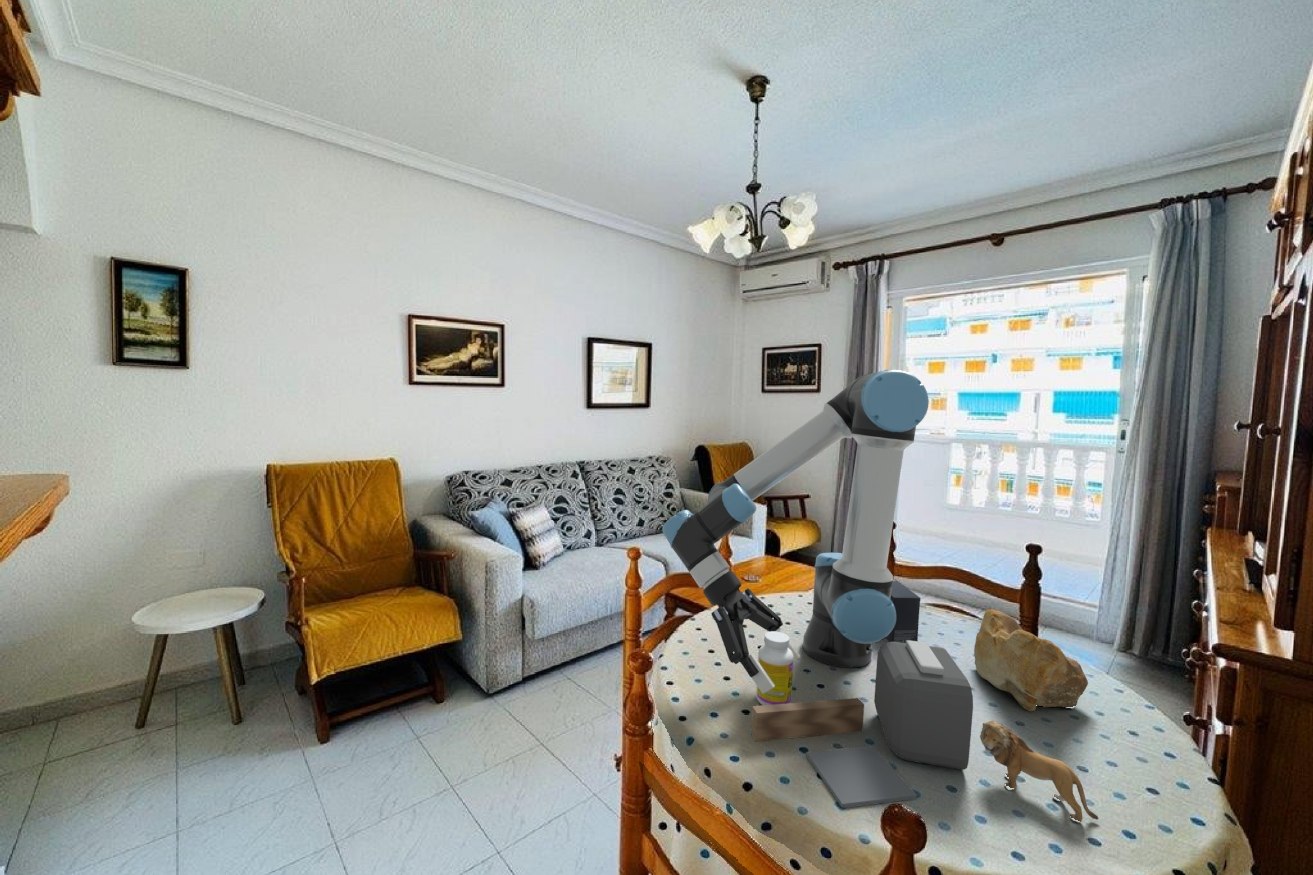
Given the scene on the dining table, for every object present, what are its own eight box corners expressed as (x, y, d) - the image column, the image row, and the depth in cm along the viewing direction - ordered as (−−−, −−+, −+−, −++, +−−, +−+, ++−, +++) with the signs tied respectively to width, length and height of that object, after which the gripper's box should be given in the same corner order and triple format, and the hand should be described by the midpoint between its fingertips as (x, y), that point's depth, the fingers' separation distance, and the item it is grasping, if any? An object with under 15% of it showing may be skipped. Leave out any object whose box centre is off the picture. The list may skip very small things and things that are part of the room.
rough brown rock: (1117, 743, 92) (1132, 661, 92) (1015, 721, 95) (1028, 642, 94) (1044, 679, 115) (1055, 613, 114) (963, 663, 118) (974, 599, 117)
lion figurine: (974, 781, 80) (979, 725, 80) (979, 763, 85) (984, 710, 84) (1098, 833, 71) (1104, 771, 70) (1097, 810, 75) (1103, 751, 75)
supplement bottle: (792, 713, 96) (795, 646, 95) (755, 708, 98) (759, 642, 97) (790, 693, 103) (793, 631, 102) (756, 688, 104) (759, 626, 103)
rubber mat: (872, 748, 87) (872, 745, 87) (916, 798, 76) (916, 794, 76) (806, 755, 85) (806, 751, 85) (842, 807, 74) (842, 803, 74)
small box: (867, 621, 139) (870, 577, 138) (892, 621, 139) (895, 578, 138) (890, 644, 126) (894, 596, 125) (918, 645, 126) (922, 597, 125)
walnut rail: (856, 724, 94) (857, 697, 93) (862, 731, 92) (864, 704, 91) (751, 733, 90) (752, 706, 89) (755, 741, 88) (756, 713, 88)
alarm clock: (967, 778, 81) (975, 682, 80) (889, 765, 83) (896, 671, 82) (934, 716, 97) (940, 636, 96) (870, 707, 99) (875, 628, 98)
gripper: (731, 573, 118) (791, 657, 111) (671, 607, 98) (740, 713, 90) (753, 555, 115) (817, 641, 107) (697, 586, 94) (771, 694, 87)
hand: (782, 674), depth 99 cm, fingers open, 13 cm apart
